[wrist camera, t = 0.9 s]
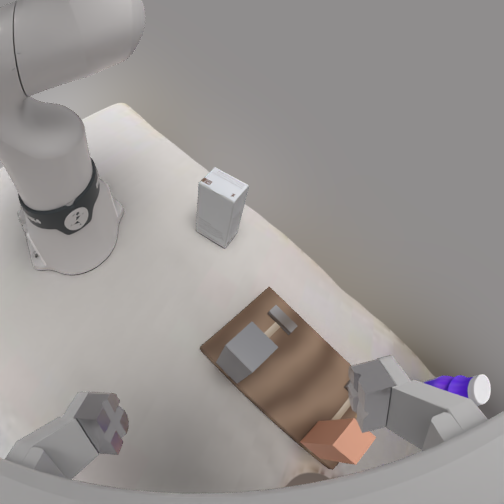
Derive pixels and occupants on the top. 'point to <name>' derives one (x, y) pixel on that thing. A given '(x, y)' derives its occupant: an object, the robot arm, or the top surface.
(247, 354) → the grey tall block
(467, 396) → the bottle
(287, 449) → the top surface
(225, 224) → the skincare box
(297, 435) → the wooden board
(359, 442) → the plug terracotta
